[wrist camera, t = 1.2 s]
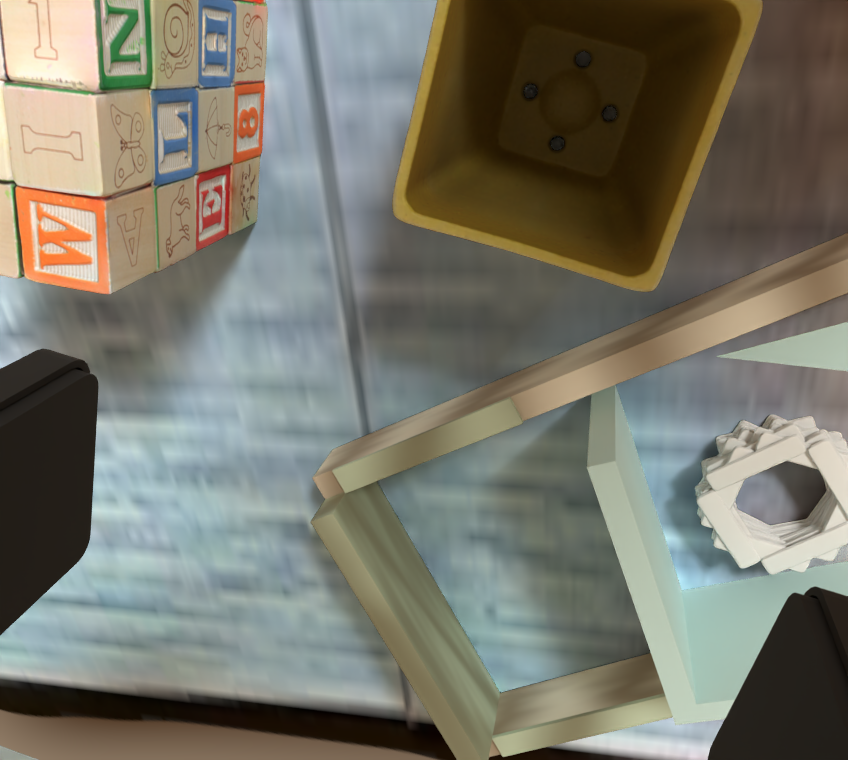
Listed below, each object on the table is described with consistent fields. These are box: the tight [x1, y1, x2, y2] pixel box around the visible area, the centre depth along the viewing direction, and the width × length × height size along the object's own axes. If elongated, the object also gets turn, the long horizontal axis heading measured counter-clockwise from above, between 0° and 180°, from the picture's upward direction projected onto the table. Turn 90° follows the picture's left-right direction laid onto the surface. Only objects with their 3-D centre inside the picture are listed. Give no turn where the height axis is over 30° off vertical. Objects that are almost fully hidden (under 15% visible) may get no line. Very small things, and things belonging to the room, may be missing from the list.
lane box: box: [311, 233, 848, 760], centre depth 34 cm, size 32×17×5 cm, turn 119°
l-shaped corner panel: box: [587, 322, 848, 725], centre depth 32 cm, size 12×12×8 cm
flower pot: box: [392, 0, 763, 292], centre depth 28 cm, size 9×9×9 cm
